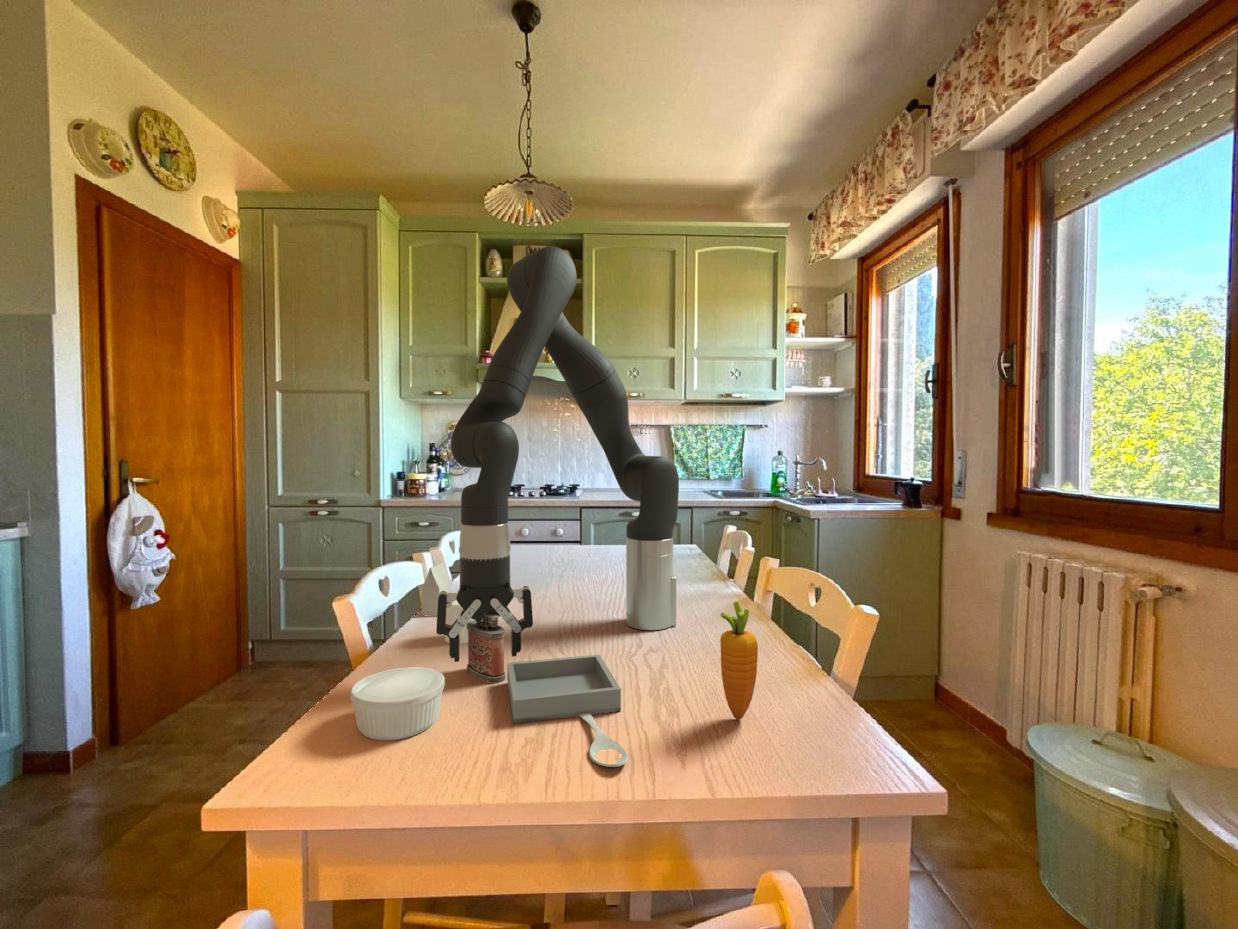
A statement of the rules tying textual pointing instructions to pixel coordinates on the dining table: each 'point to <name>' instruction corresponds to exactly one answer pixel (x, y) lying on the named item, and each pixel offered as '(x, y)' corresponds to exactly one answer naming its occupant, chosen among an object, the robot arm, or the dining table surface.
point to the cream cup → (451, 617)
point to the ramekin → (397, 702)
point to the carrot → (738, 662)
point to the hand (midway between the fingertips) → (485, 657)
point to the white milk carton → (435, 588)
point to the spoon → (603, 743)
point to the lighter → (486, 649)
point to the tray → (561, 688)
